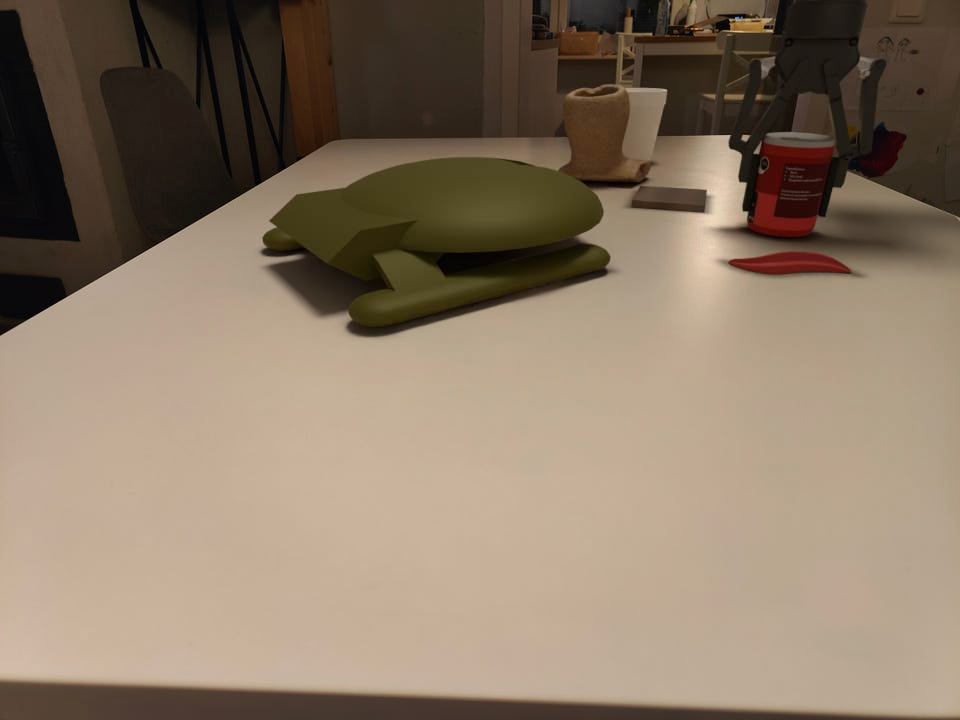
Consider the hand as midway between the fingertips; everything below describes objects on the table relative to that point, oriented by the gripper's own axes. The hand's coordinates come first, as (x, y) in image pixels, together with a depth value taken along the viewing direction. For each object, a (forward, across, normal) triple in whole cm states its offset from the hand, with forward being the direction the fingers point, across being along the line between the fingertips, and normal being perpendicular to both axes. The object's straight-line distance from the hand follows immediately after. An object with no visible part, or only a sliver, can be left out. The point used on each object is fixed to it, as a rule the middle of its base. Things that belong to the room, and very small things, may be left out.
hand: (782, 211), depth 76 cm
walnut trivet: (+3, -14, +12) cm, 19 cm away
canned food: (+2, 0, 0) cm, 2 cm away
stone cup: (+3, -26, +23) cm, 35 cm away
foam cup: (+3, -23, +42) cm, 48 cm away
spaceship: (+3, -36, -21) cm, 42 cm away
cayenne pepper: (+3, 0, -15) cm, 15 cm away
